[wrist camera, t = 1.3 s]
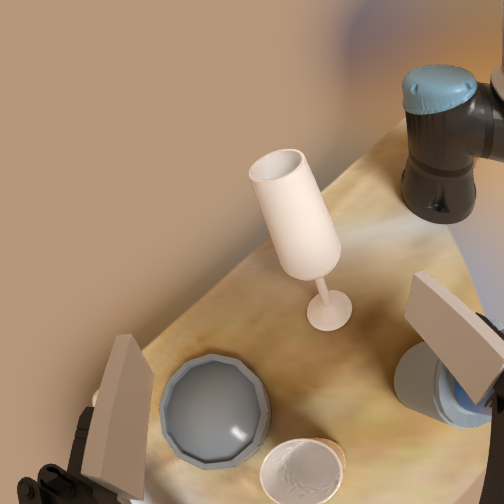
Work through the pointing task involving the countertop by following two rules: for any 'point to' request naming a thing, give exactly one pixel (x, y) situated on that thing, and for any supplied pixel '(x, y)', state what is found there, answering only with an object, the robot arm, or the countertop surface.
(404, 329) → the countertop surface
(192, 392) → the plate
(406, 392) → the spray bottle
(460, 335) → the robot arm
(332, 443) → the white cup
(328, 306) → the champagne flute
